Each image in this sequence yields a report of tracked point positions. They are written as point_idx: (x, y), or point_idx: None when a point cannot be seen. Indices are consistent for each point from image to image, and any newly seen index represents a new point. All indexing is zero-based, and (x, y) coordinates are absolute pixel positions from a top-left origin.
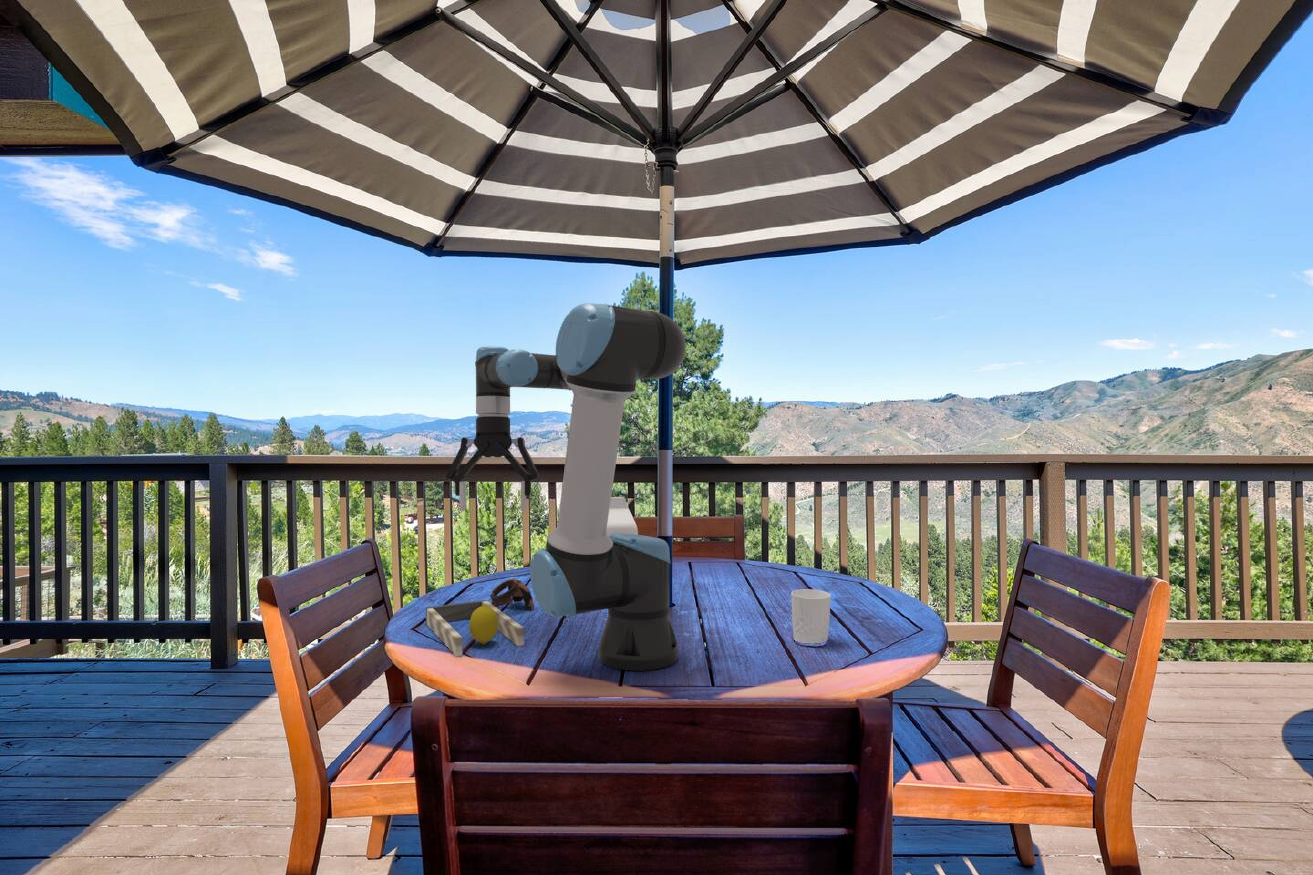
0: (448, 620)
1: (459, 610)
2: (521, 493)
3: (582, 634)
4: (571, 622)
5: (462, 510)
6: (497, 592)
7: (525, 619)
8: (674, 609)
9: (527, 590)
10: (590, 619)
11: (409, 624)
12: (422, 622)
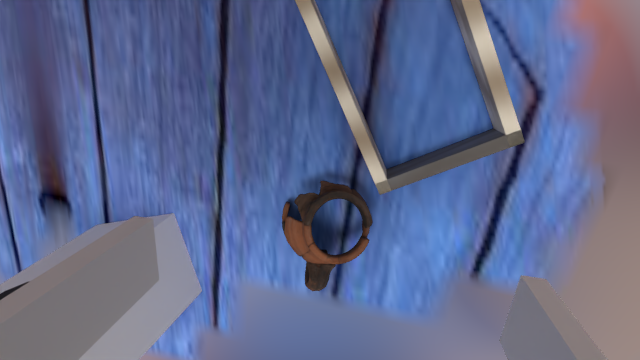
0: (458, 142)
1: (437, 156)
2: (57, 281)
3: (171, 20)
4: (202, 108)
5: (525, 278)
6: (357, 242)
7: (294, 140)
8: (36, 173)
9: (286, 222)
10: (169, 125)
11: (549, 131)
12: None
